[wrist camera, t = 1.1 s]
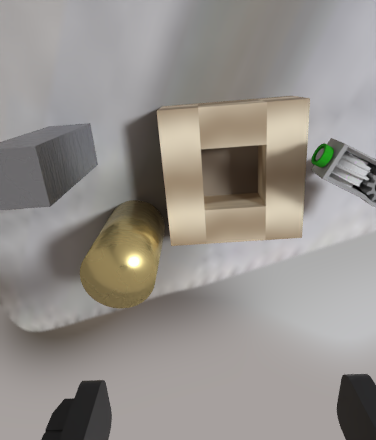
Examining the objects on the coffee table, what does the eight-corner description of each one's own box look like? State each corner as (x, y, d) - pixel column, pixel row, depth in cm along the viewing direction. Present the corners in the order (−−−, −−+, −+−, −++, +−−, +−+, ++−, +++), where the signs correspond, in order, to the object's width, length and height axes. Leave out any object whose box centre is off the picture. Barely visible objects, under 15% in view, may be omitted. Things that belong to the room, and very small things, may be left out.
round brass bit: (104, 202, 35) (72, 246, 26) (161, 198, 35) (150, 241, 25) (114, 253, 37) (87, 310, 28) (167, 249, 37) (159, 306, 28)
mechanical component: (364, 192, 34) (428, 233, 25) (278, 148, 32) (311, 175, 23) (383, 166, 33) (457, 199, 24) (294, 120, 31) (336, 136, 22)
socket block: (161, 106, 31) (156, 110, 26) (292, 95, 31) (309, 98, 26) (174, 224, 36) (171, 245, 31) (287, 216, 35) (301, 237, 31)
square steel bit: (49, 126, 32) (-28, 151, 21) (90, 123, 32) (35, 146, 21) (58, 167, 34) (-8, 210, 22) (97, 164, 33) (50, 206, 22)
